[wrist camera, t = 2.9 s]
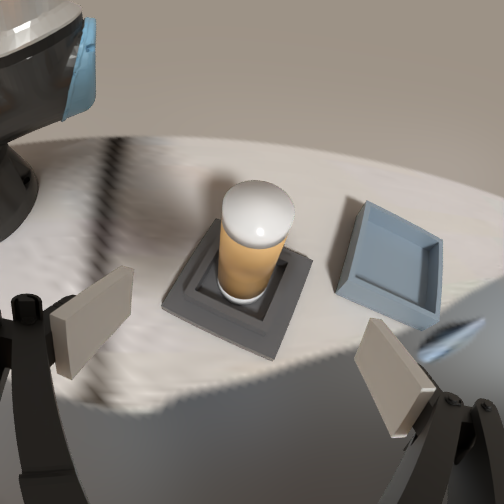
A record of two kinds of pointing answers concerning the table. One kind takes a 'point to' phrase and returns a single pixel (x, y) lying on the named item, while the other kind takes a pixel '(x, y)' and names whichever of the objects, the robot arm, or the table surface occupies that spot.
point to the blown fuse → (251, 238)
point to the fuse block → (232, 315)
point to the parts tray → (393, 268)
